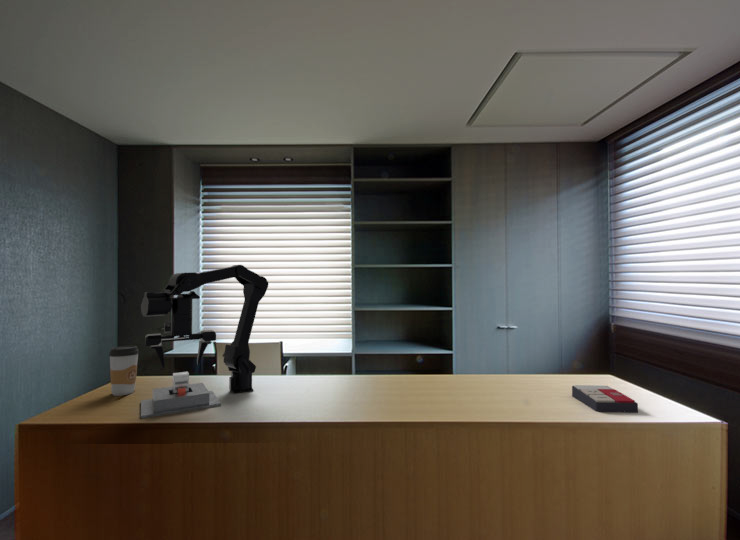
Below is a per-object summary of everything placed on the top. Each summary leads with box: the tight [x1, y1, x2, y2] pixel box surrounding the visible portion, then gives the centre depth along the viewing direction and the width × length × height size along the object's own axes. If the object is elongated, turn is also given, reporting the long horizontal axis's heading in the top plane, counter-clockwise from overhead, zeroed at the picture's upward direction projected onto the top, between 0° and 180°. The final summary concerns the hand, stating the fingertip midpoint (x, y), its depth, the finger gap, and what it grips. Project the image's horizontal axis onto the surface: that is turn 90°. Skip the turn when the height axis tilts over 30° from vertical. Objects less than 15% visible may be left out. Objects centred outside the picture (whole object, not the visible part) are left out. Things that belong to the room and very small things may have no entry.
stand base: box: [140, 382, 222, 420], centre depth 111 cm, size 20×16×6 cm
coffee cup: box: [108, 345, 140, 397], centre depth 123 cm, size 8×8×15 cm
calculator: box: [571, 384, 639, 414], centre depth 109 cm, size 11×4×15 cm
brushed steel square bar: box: [172, 371, 190, 395], centre depth 111 cm, size 4×4×9 cm
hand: (181, 366), depth 111 cm, fingers open, 9 cm apart
